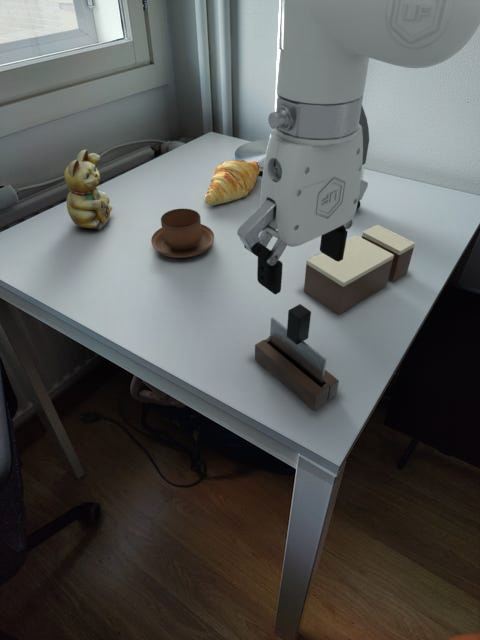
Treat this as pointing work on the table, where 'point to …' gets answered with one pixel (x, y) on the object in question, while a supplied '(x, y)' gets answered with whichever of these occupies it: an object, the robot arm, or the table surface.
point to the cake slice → (392, 249)
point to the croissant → (232, 181)
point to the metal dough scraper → (298, 343)
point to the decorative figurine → (86, 192)
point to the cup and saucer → (182, 234)
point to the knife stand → (295, 376)
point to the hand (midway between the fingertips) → (301, 271)
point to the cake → (348, 275)
